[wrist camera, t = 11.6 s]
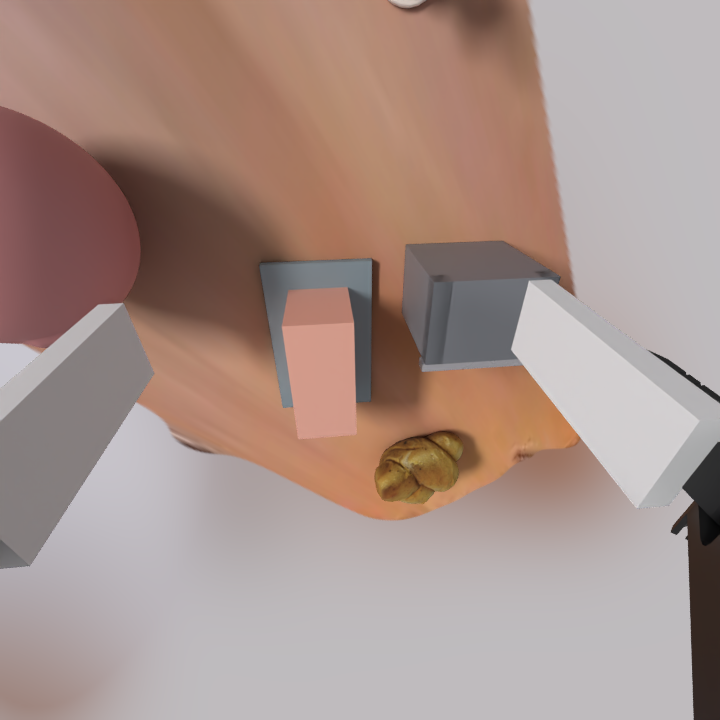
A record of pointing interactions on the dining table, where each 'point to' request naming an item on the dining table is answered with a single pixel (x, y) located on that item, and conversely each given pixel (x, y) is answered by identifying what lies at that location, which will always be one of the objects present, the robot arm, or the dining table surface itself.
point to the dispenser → (466, 302)
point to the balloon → (58, 233)
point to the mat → (317, 276)
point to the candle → (406, 3)
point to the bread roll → (418, 468)
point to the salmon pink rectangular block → (321, 361)
